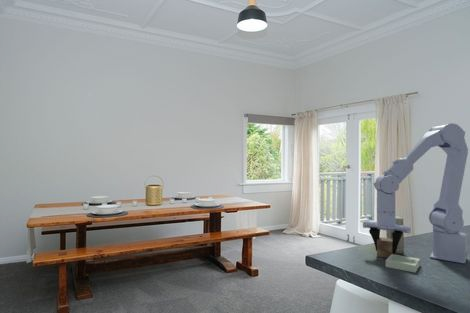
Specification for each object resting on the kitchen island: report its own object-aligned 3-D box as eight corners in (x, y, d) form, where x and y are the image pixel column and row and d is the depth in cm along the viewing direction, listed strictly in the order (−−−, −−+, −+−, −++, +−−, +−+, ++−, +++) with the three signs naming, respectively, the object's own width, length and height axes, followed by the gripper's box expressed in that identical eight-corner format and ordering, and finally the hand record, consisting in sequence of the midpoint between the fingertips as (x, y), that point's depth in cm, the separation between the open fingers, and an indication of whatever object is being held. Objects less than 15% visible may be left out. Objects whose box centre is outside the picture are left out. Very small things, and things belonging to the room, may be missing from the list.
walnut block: (394, 255, 109) (395, 239, 109) (391, 259, 105) (391, 242, 105) (380, 253, 112) (380, 237, 112) (376, 256, 108) (376, 239, 108)
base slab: (419, 265, 99) (419, 258, 99) (415, 272, 93) (415, 265, 93) (391, 260, 104) (391, 253, 104) (385, 266, 98) (385, 260, 98)
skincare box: (404, 254, 111) (404, 218, 111) (390, 253, 112) (390, 218, 112) (398, 248, 117) (398, 215, 117) (385, 248, 118) (385, 214, 118)
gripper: (360, 210, 110) (360, 250, 110) (407, 215, 101) (407, 258, 101) (366, 208, 115) (366, 246, 115) (411, 212, 106) (411, 253, 106)
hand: (385, 251), depth 108 cm, fingers closed on walnut block, 5 cm apart
